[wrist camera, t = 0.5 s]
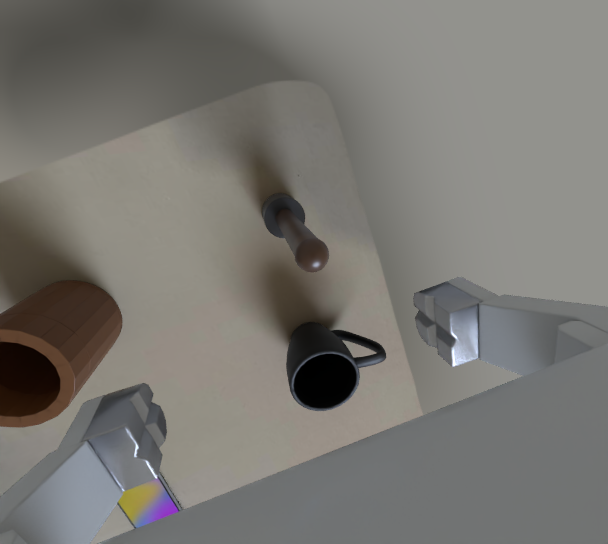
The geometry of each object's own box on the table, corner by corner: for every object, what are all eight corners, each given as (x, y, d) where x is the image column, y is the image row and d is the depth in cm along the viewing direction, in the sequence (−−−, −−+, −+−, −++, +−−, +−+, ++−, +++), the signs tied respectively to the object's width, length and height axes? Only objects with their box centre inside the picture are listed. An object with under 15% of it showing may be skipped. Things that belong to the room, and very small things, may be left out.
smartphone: (152, 464, 47) (192, 529, 52) (153, 460, 48) (192, 525, 53) (101, 482, 46) (147, 546, 52) (103, 478, 47) (148, 541, 52)
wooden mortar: (16, 286, 37) (-84, 340, 26) (109, 274, 38) (52, 320, 27) (47, 361, 40) (-30, 437, 29) (131, 347, 42) (89, 415, 30)
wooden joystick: (259, 195, 38) (274, 228, 19) (296, 191, 39) (348, 219, 19) (264, 231, 40) (283, 298, 20) (299, 227, 40) (351, 287, 21)
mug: (367, 347, 48) (395, 389, 39) (289, 371, 47) (299, 420, 38) (357, 298, 45) (385, 331, 36) (274, 322, 44) (281, 363, 35)
